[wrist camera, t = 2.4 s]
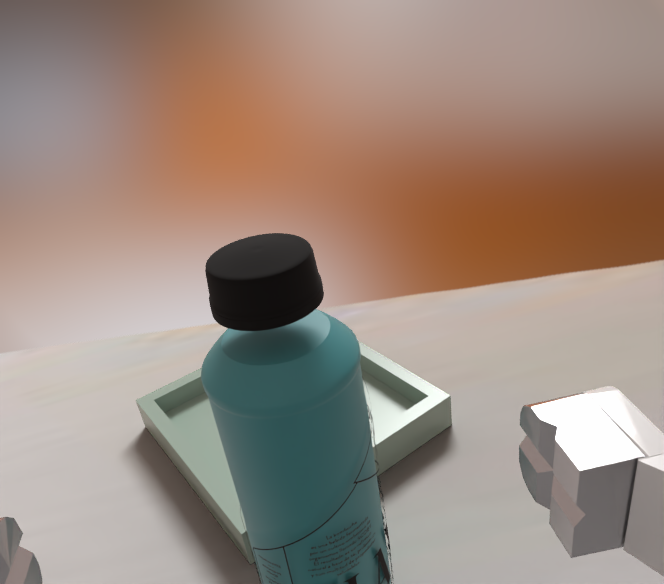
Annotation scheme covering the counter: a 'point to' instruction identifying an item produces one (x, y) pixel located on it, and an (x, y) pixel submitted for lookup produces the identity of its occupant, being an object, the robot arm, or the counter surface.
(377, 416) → the tray
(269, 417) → the beverage bottle
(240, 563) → the counter surface
